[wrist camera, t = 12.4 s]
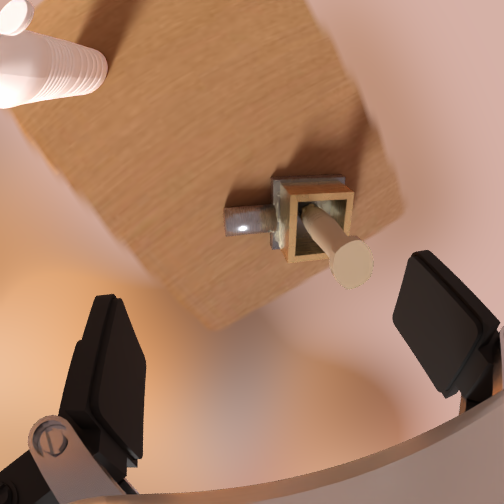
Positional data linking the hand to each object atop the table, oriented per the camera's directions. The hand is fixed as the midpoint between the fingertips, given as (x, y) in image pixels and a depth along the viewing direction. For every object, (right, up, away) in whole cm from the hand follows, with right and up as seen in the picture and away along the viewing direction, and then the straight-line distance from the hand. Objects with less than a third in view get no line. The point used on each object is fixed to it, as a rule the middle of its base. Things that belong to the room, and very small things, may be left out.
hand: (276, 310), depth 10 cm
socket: (+4, +8, +37) cm, 39 cm away
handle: (+8, +8, +37) cm, 38 cm away
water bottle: (-22, +26, +22) cm, 40 cm away
